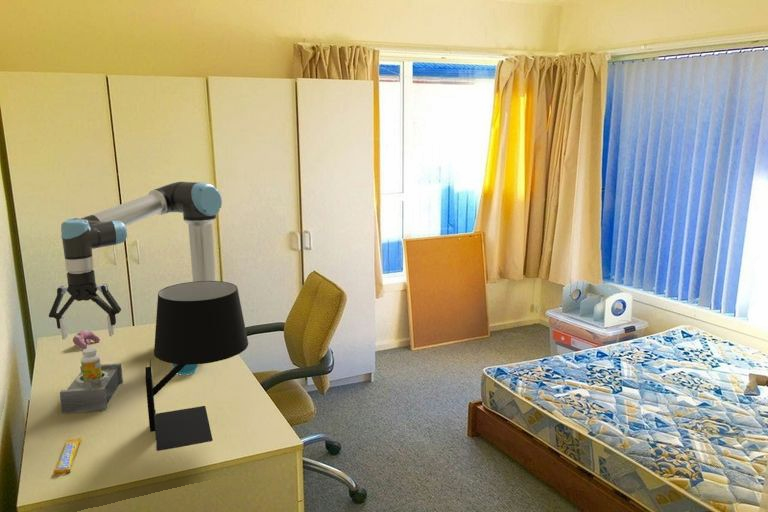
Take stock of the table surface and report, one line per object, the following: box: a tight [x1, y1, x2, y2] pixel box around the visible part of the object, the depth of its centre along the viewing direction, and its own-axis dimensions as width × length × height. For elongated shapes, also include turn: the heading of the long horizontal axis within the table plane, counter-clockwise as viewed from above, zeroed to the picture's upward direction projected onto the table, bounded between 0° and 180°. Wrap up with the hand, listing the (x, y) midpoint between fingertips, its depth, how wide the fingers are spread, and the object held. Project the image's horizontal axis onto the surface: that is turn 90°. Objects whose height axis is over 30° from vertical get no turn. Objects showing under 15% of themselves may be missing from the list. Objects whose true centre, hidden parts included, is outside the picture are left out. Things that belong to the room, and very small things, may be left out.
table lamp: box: [144, 280, 249, 452], centre depth 165 cm, size 26×28×40 cm
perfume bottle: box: [172, 364, 199, 376], centre depth 204 cm, size 9×9×15 cm
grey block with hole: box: [59, 362, 124, 414], centre depth 185 cm, size 12×20×7 cm, turn 10°
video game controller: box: [72, 329, 101, 351], centre depth 230 cm, size 10×5×7 cm, turn 173°
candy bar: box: [52, 437, 83, 476], centre depth 151 cm, size 17×4×2 cm, turn 17°
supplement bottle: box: [80, 347, 102, 381], centre depth 184 cm, size 5×5×10 cm
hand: (88, 336), depth 182 cm, fingers open, 13 cm apart
